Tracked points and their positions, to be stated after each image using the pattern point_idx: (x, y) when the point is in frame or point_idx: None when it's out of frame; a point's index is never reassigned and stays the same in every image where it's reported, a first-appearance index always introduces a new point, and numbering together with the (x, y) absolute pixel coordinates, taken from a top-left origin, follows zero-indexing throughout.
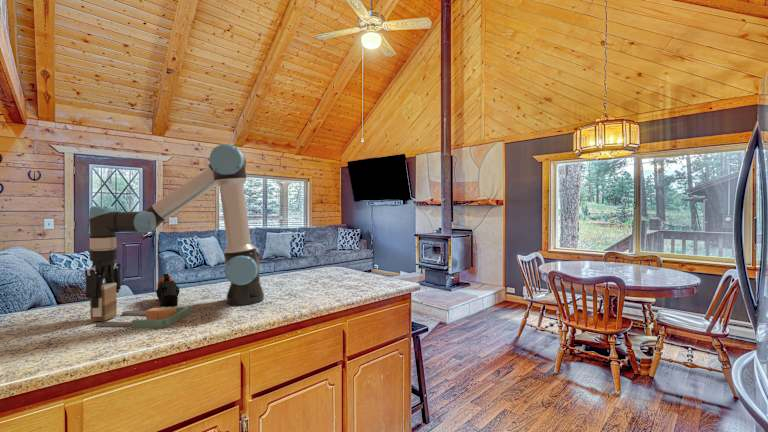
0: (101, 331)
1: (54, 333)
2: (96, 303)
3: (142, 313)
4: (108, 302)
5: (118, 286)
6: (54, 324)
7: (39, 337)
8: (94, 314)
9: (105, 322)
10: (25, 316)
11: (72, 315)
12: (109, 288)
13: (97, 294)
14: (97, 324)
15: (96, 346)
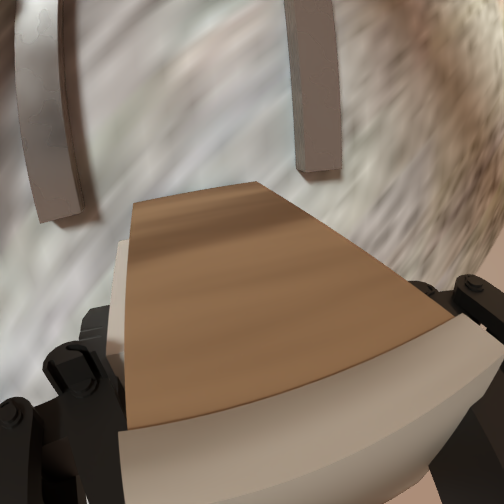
0: (392, 69)
1: (403, 272)
2: None
3: (58, 36)
4: (268, 236)
5: (23, 445)
6: None
7: (429, 278)
8: None
9: (319, 121)
10: None
11: None
12: (353, 366)
13: (449, 308)
14: (338, 156)
15: (482, 6)
